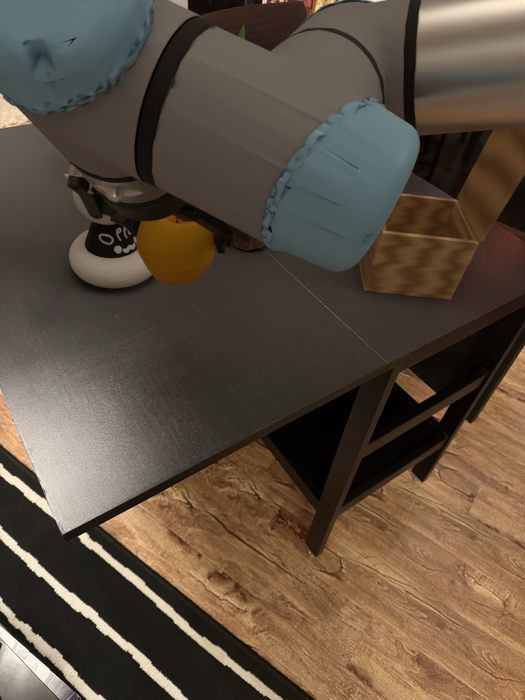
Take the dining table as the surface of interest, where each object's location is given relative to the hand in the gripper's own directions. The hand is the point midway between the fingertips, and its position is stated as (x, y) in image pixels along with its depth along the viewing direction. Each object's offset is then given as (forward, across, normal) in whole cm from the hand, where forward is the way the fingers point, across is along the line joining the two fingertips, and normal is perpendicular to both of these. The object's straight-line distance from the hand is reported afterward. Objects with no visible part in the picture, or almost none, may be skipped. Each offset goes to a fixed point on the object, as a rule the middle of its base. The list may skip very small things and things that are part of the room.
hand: (183, 235), depth 55 cm
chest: (+33, +35, +7) cm, 48 cm away
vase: (+69, -2, +45) cm, 82 cm away
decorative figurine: (+27, -15, -1) cm, 31 cm away
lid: (+18, +43, +21) cm, 51 cm away
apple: (0, 0, -5) cm, 5 cm away
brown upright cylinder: (+36, +6, +9) cm, 37 cm away
